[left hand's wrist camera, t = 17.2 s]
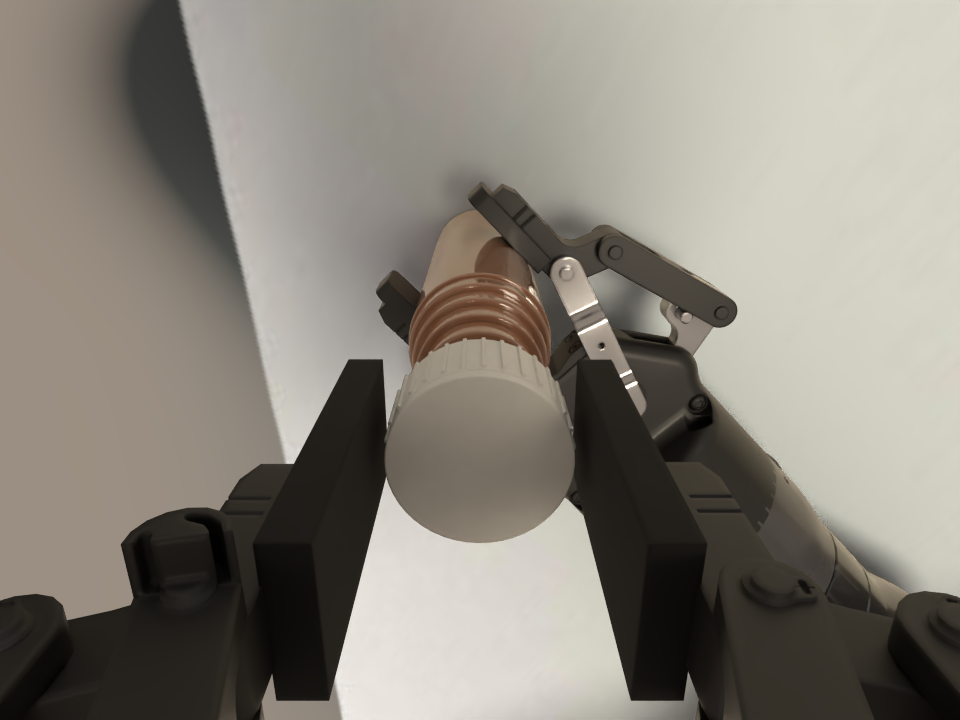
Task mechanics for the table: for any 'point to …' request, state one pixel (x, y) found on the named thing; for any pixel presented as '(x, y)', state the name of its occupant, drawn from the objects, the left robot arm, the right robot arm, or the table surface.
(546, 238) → the right robot arm
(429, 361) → the cap
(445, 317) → the bottle
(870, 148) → the table surface
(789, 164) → the table surface
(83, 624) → the left robot arm
